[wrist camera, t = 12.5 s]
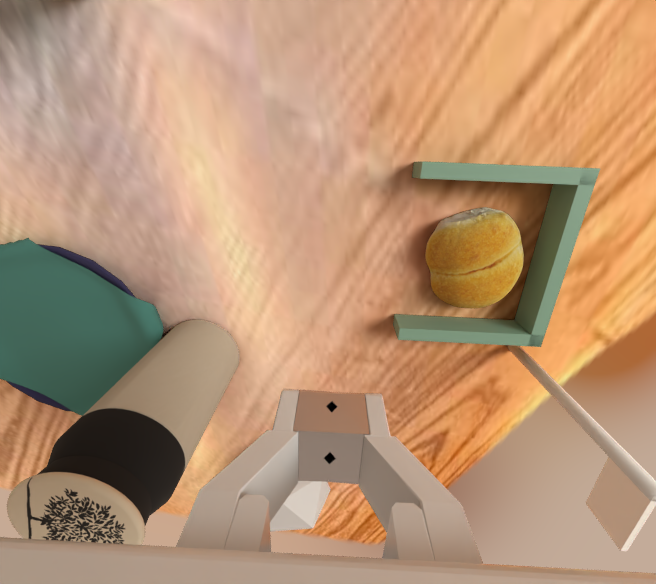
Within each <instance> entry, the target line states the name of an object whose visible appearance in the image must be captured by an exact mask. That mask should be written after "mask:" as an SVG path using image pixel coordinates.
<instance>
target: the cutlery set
mask: <svg viewBox="0 0 656 584" xmlns="http://www.w3.org/2000/svg"><path fill="white" fill-rule="evenodd" d="M162 334H163V323H162V321H161V319H160V317H159V314H158V312H157V309H156V307H155V306H154V305H152V304H150V303H148V302H145V301H142V300H140V299H137V298H136V297H135V296H134V295H133V294H132V293H131V291H130V290H129V289H128V288H127V287H126V286H125V284H124V283H123V282H122V281H121V280H119V279H118V278H117V277H115V276H114V275H112V274H111V273H110V272H108V271H107V270H106V269H104V268H103V267H101V266H100V265H99V264H97V263H96V262H94V261H93V260H91V259H88V258H86V257H83V256H81V255H78V254H76V253H73V252H71V251H68V250H66V249H63V248H61V247H56V246H47V245H38V244H35V243H34V242H32V241H31V240H29V238H27V239H25V240H18V241H16V242H14V243H13V242H10V243H7V244H5V245H4V244H0V379H3V380H6V381H7V382H8V383H9V384H10V385H12V386H13V387H15V388H16V389H18V390H20V391H22V392H23V393H25V394H27V395H28V396H30V397H32V398H34V399H35V400H37V401H39V402H42V403H45V404H48V405H51V406H53V407H56V408H59V409H62V410H65V411H72V412H75V413H77V414H79V415H82V416H83V415H84V414H85V413H86V412H87V411H88V410H89V409H90V408H91V407H92V406H93V405H94V404H95V403H96V402H97V401H98V400H99V399H100V398H101V397H102V396H103V395H105V394H106V393H107V392H108V391H109V390H110V389H111V388H112V387H113V386H114V385H115V384H116V383H117V382H118V381H119V380H120V379H121V378H122V377H123V376H124V375H125V374H126V373H127V372H128V371H129V370H130V369H131V368H132V367H134V366H135V365H136V364H137V363H138V362H139V361H140V360H141V359H142V358H143V357H144V356H145V355H146V354H147V353H148V352H149V351H150V350H151V349H152V348H153V347H154V346H155V345H156V344H157V343H158V342H159V341H160V339H161V337H162Z"/></svg>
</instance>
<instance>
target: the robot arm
mask: <svg viewBox="0 0 656 584" xmlns="http://www.w3.org/2000/svg"><path fill="white" fill-rule="evenodd" d="M328 479H329V481H328ZM298 481H322V482H338V483H350V484H359V487H360V489H361V491H362V492H363V494H364V495H365V497H366V499H367V500H368V502H369V504H370V505H371V507H372V509H373V510H374V512H375V514H376V515H377V517H378V519H379V520H380V522H381V524H382V525H383V527H384V529H385V530H386V532H387V536H386V541H385V547H384V552H383V557H382V558H365V557H346V556H329V555H311V554H293V553H275V552H274V553H273V552H271V540H270V522H271V520H272V519H273V518H274V516H275V515H276V513H277V512H278V510H279V509H280V508H281V506H282V505H283V503H284V502H285V501H286V499H287V498H288V496H289V495H290V494H291V492H292V491H293V489H294V488H295V487H296V485H297V484H298ZM0 584H656V573H639V572H621V571H603V570H584V569H566V568H549V567H531V566H513V565H494V564H483V562H482V559H481V556H480V553H479V551H478V548H477V545H476V542H475V540H474V537H473V534H472V532H471V529H470V526H469V523H468V520H467V518H466V515H465V512H464V509H463V507H462V504H461V503H460V502H459V501H458V500H457V499H456V498H455V497H454V496H453V495H452V494H451V493H450V492H449V491H448V490H447V489H446V488H445V487H444V486H443V485H442V484H441V483H440V482H439V481H438V480H437V479H436V478H435V477H434V476H433V475H432V474H431V473H430V472H429V470H428V469H427V468H426V467H425V466H424V465H423V464H422V463H421V462H420V461H419V460H418V459H417V458H416V457H415V456H414V455H413V454H412V453H411V452H410V451H409V450H408V449H407V448H406V447H405V446H404V445H403V444H402V443H401V442H400V441H399V440H398V439H397V438H396V437H393V436H390V432H389V427H388V422H387V417H386V412H385V407H384V402H383V396H382V395H381V394H378V393H342V392H325V391H311V390H294V389H283V391H282V392H281V397H280V401H279V405H278V409H277V413H276V417H275V421H274V426H273V430H267V431H266V432H265V433H263V434H262V435H261V436H260V437H259V438H258V439H257V440H256V441H254V442H253V443H252V444H251V445H250V446H249V447H248V448H247V449H245V450H244V451H243V452H242V453H241V454H240V455H239V456H238V457H236V458H235V459H234V460H233V461H232V462H231V463H230V464H228V465H227V466H226V467H225V468H224V469H223V470H222V471H221V472H219V473H218V474H217V475H216V476H215V477H214V478H213V479H212V480H210V481H209V482H208V483H207V484H206V485H205V486H204V487H203V488H201V489H200V491H199V493H198V495H197V498H196V500H195V503H194V505H193V507H192V510H191V512H190V514H189V517H188V519H187V522H186V524H185V526H184V529H183V531H182V533H181V536H180V538H179V540H178V543H177V545H176V547H167V546H148V545H131V544H112V543H94V542H76V541H58V540H40V539H21V538H4V537H0Z"/></svg>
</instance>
